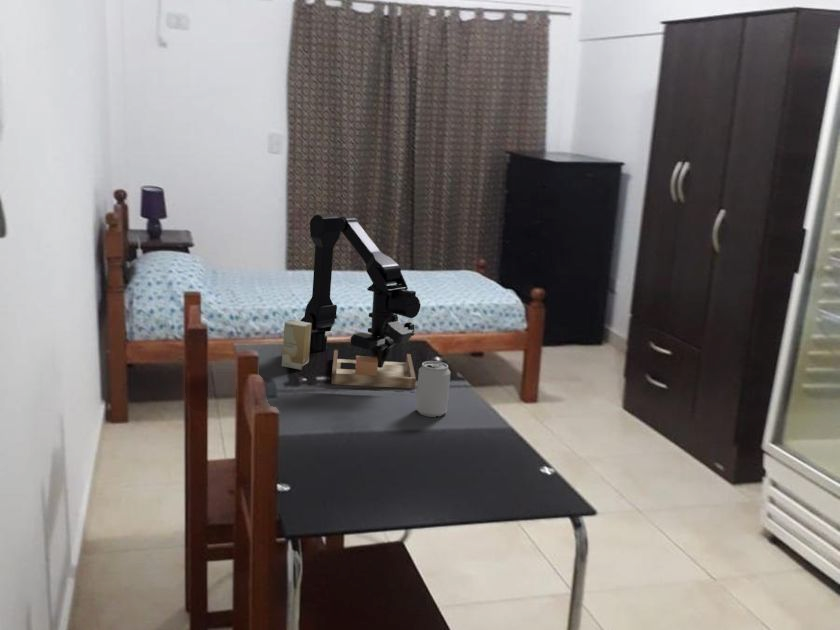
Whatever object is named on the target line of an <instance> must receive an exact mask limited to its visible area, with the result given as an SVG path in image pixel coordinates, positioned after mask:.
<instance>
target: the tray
mask: <svg viewBox="0 0 840 630" xmlns="http://www.w3.org/2000/svg"><path fill="white" fill-rule="evenodd" d="M338 355H339V351H338V349H334V351H333V361H332V370H331V371H332V372H331V382H330V383H331V385H345V386H364V387H379V388H380V387H381V388H384V387H385V388H403V389H415V388H416V381H417V380H416V379H417V378H416V373H415V368H414V364H413V363H414V362H413V360H412V355H411V353H407V354H406V361H405V362H399V361H385V362H384V364H383V367H382V368H379V367H378V369H377V375H358V374H355V369H351V368H350V369H348V368H347V369H346V368H341V366H342V363H344V364H345V363H346V364H347V363H348V364H356V359H344V358H338ZM357 389H358V388H357ZM357 391H363V389H361V388H359V389H358V390H357ZM394 391H395V393H403V391H401V390H400V391H399V390H394ZM411 393H416V392H415V391H411Z"/></svg>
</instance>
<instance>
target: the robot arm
mask: <svg viewBox="0 0 840 630" xmlns="http://www.w3.org/2000/svg"><path fill="white" fill-rule="evenodd" d="M309 233H310V234H309V235H310V238H311V240H312V242H313V244H314V261H313V262H314V263H313V278H312V295H311V298H310V299H309V301H308V303H306V306H305V312H304V316H303V318H302V319H301V320H299V321H303V322H307V323H312V325H311V338H310V351H309V352H311V353H315V352H324V351H325V352H326V351H327V348H328V336H327V335H326V332H327V333H328V332H331V330H332V329H333V328H332V327H333V325H334V324H335V322H336V319H337V318H338V316H337V312H338V311H337V310H338V306H337V304H334V302H333V301H332V299H331V288H332V287H331V285H332V274H333V260H334V259H333V258H334V257H333V256H334V249H335V245H336V244H337V242H338V241H339V240H340V236H341V233H342V234H343V236H344V237H345V238H346V239H347V241H348V242H349V243H350V245H351V246H352V247H353V249H354V250H355V251H356V253H357V254H358V255H359V257H361V259H362V260H363V262H364V264H365V268H366V273H367V275H368V277H369V279H370V280H371V283H372V284H371V285H370V286H368V287H367V289H366V290H367V291H369V292H372V293H373V295H372V308H371V309H372V310H371V312H368V318H371V327H368V328H367V333H366V332H362V331H361V332H358V333H354V334H352V335H351V336H350V343H349V344H350V345H351V346H354V347H357V348H360V349H365V350H370V352H371V354H372V357H377V359H378V367H379V368H382V367H383V364H384V362H386V359H387V357H388V354H389V352H390V350H391V348H393V347H394V346H395V345H403V344H404V343H408V342H409V341H410V339H411V338H412V336H414V335H415V323H414V322H413V321H407V322H400V321H399V317H398V316H402V317H405V318H409V319H414V318H415V317H417V316H418V314H419V312H420V309H421V302H420V299H419V298H418V296H417V295H416V294H417V292H416V291H415V290H409V287H408V285H407V283H406V280H405V278H404V276H403V274H402V270H401V267H400V265H399V264H398V263H397V262H396V261H395V260H393V258H392V257H390V256H388V255H386V254H385V253H383V252H382V251H381V250H380V249H379V248H378V247H377V245H376V244H375V242H374V241H373V240H372V239H371V237H370V236H369V235H368V234H367V233H366V231H365V230H364V229H363V227H362V226H361V225H360V224H359V220H358V219H357V218H356V217H354V216H341V217H339V216H338V214H334V213H329V214H328V213H327V214H326V213H325V214H316V215H313V217H312V218H311V219H310V220H309ZM337 320H338V319H337ZM369 333H370V334H369Z"/></svg>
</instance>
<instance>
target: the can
mask: <svg viewBox="0 0 840 630" xmlns="http://www.w3.org/2000/svg"><path fill="white" fill-rule="evenodd" d="M417 376H418V378H417V388H416V389H417V390H416V401H415V409H416V411H417V412H418V413H419V414H420V415H421V416H425V417H429V418H430V417H431V418H437V417H436V416H438V417H441V416H444V414H446V413H447V411H448V407H449V406H448V405H449V404H448V402H449V394H450V382H451V370H450V369H449V365H448V364H447V363H445V362H443V361H438V360H428V361H423V362H422V363H421V366H420V368H418V375H417Z"/></svg>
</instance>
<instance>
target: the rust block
mask: <svg viewBox="0 0 840 630" xmlns="http://www.w3.org/2000/svg"><path fill="white" fill-rule="evenodd" d="M355 360H356V363H355V369H354V370H355V374H358V375H377V369H378V359H377V357H373V356H366V355H355Z"/></svg>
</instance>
